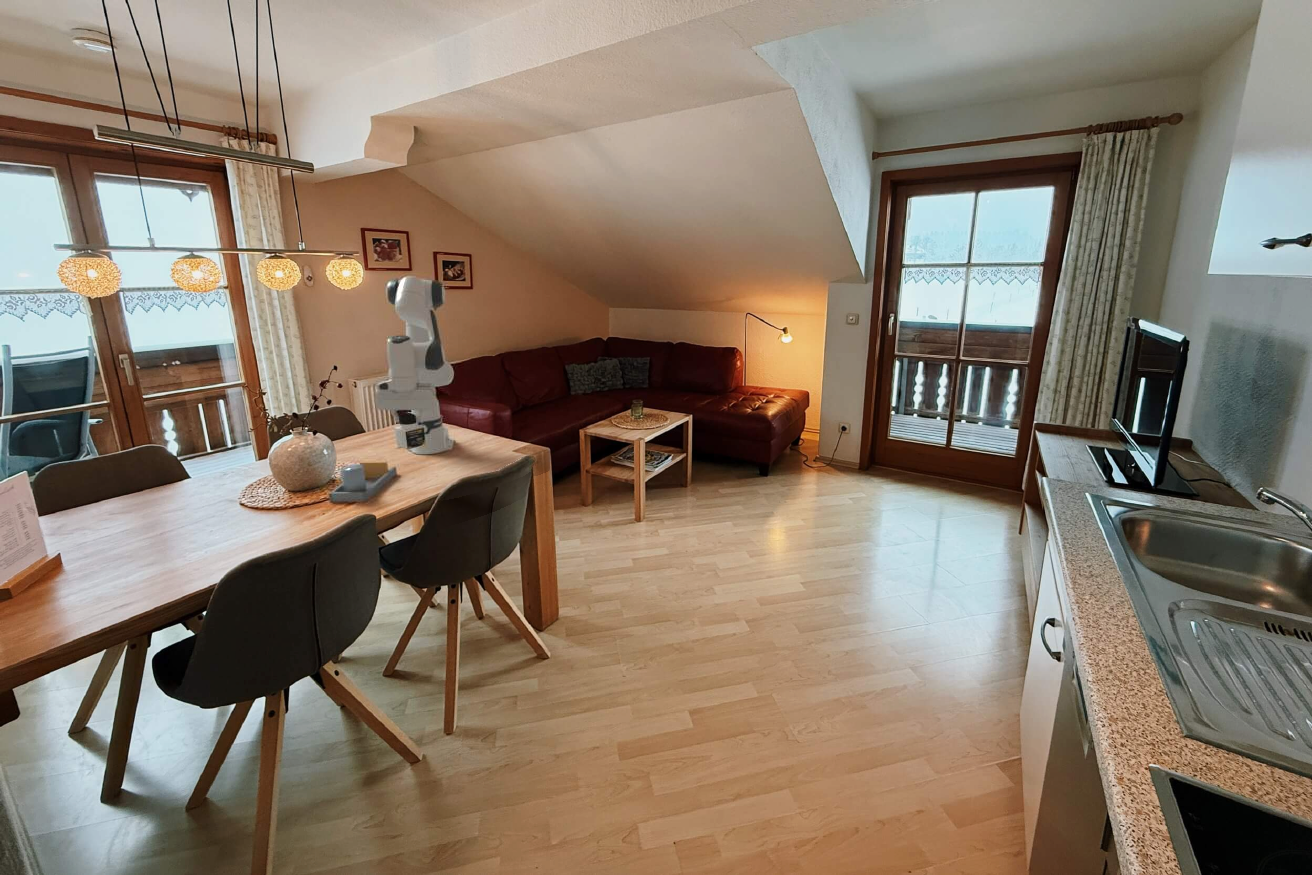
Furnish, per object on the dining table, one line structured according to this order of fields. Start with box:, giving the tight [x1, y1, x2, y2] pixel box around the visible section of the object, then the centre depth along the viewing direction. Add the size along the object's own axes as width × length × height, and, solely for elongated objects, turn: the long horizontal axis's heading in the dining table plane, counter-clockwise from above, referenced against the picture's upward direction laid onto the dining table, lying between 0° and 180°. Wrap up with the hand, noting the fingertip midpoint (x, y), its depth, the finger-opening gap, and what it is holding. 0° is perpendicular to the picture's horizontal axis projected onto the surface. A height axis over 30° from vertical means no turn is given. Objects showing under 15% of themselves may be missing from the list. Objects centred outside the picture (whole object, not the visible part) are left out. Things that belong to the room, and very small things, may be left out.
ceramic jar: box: [339, 464, 367, 492], centre depth 196 cm, size 7×7×10 cm
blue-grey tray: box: [328, 466, 398, 503], centre depth 204 cm, size 26×12×4 cm, turn 3°
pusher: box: [359, 461, 389, 478], centre depth 212 cm, size 1×9×6 cm, turn 93°
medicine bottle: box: [394, 411, 426, 451], centre depth 204 cm, size 7×7×12 cm
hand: (409, 421), depth 203 cm, fingers closed on medicine bottle, 6 cm apart
